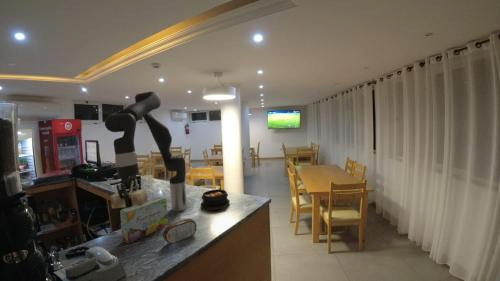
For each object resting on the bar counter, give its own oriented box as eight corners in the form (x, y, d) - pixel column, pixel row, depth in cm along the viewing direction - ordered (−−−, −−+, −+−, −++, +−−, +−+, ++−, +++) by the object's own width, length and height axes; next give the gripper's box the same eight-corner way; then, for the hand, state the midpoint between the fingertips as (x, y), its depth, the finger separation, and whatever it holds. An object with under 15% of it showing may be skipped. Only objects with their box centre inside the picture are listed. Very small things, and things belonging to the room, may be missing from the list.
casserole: (233, 210, 130) (232, 196, 130) (201, 215, 126) (200, 201, 125) (226, 197, 154) (226, 185, 154) (200, 201, 150) (199, 189, 149)
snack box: (129, 244, 97) (126, 212, 96) (122, 241, 100) (119, 210, 99) (168, 224, 115) (166, 197, 114) (161, 222, 118) (159, 195, 117)
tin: (195, 232, 105) (194, 215, 104) (198, 235, 103) (197, 217, 102) (163, 244, 95) (162, 226, 95) (165, 247, 93) (164, 228, 92)
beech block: (110, 196, 86) (140, 193, 85) (117, 191, 90) (146, 189, 90) (111, 208, 86) (141, 205, 86) (119, 203, 91) (147, 201, 91)
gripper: (127, 161, 94) (133, 198, 96) (105, 168, 80) (112, 212, 81) (144, 159, 94) (150, 197, 95) (126, 166, 80) (132, 211, 81)
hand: (132, 204), depth 88 cm, fingers closed on beech block, 5 cm apart
